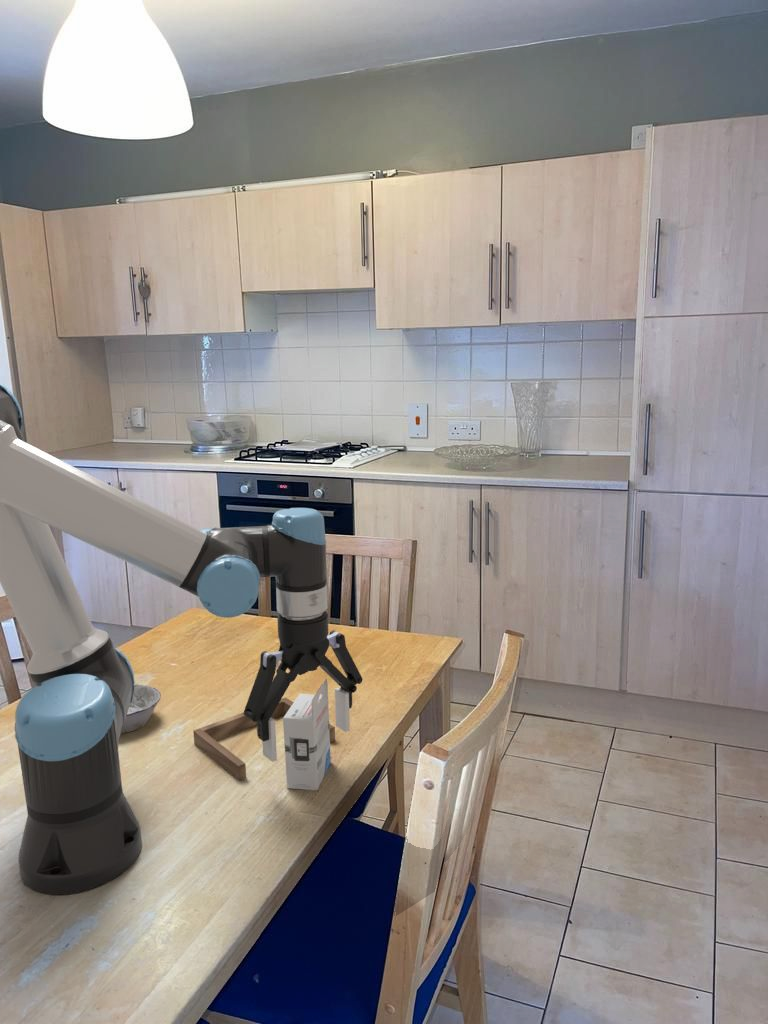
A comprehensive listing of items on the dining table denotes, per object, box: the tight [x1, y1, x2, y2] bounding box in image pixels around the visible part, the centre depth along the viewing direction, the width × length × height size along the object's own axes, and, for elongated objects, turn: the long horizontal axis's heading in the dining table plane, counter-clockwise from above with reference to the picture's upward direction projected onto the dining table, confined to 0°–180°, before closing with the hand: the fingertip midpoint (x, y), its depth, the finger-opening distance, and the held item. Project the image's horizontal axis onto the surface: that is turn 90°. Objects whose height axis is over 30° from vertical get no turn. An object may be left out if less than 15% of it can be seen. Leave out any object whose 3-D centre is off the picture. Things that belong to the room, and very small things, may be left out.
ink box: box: [282, 678, 331, 791], centre depth 120 cm, size 9×5×15 cm, turn 169°
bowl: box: [121, 683, 162, 734], centre depth 140 cm, size 13×13×5 cm
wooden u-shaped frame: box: [192, 697, 336, 781], centre depth 132 cm, size 18×15×2 cm
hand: (307, 742), depth 120 cm, fingers open, 13 cm apart
